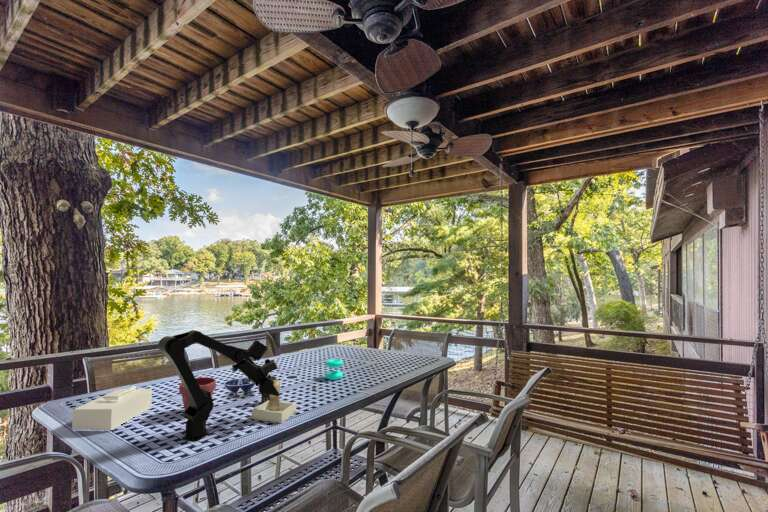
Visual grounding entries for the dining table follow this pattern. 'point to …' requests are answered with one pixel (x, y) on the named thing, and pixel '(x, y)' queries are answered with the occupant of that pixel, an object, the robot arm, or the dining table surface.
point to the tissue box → (112, 409)
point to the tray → (274, 412)
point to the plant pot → (204, 383)
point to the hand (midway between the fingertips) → (278, 393)
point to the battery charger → (266, 396)
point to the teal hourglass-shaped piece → (334, 374)
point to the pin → (275, 397)
